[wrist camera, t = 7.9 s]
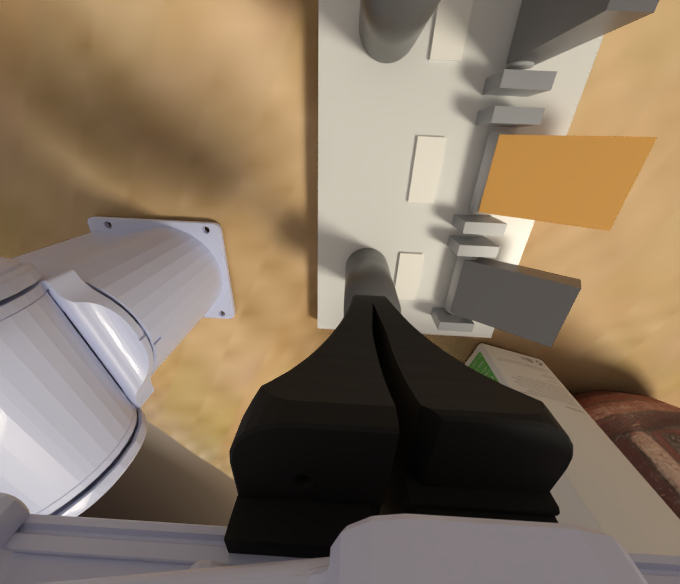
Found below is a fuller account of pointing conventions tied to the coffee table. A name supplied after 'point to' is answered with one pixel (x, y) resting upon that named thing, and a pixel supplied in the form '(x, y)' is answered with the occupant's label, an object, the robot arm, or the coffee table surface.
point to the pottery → (641, 436)
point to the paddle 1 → (511, 297)
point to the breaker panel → (422, 146)
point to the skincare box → (588, 462)
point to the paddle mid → (558, 177)
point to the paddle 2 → (567, 26)
